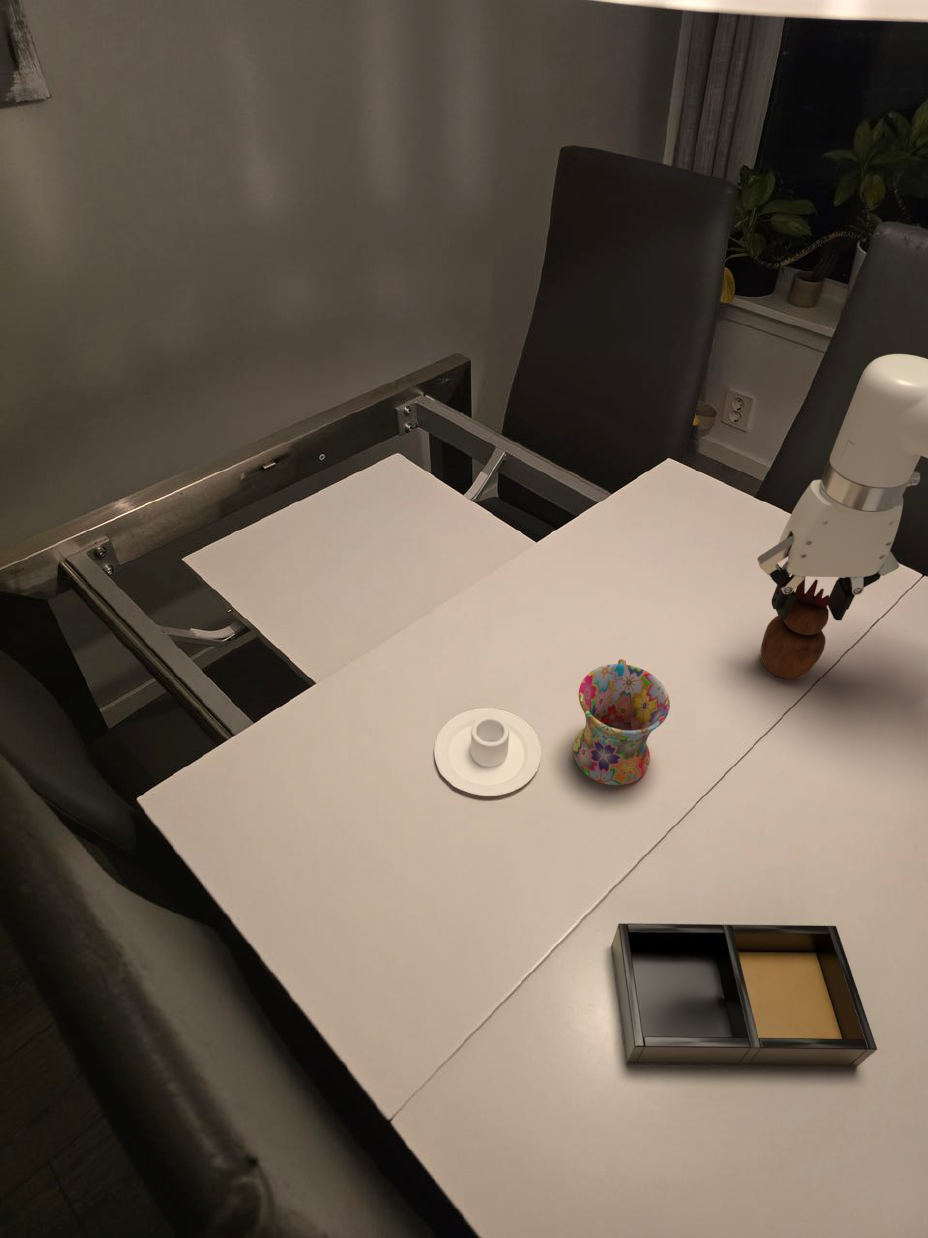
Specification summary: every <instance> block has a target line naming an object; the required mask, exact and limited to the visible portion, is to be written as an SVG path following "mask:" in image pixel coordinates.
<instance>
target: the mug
mask: <svg viewBox="0 0 928 1238" xmlns="http://www.w3.org/2000/svg"><path fill="white" fill-rule="evenodd" d="M578 701H579V704H580V707H581V709H582V711H583V713H584V717H585V725H584V728H582V729H581V730H580V731H579V732H578V734H577V735H576V737H575V739H574V742H573V746H572V751H573V757H574V760H575V762H576V764H577V766H578V767H579V769H580V770H581V771H582V772H583V773H584V774H585V775H586V776H587V777H589V778H591V779H592V780H595V781H596V782H598V783H601V784H605V785H608V786H624V785H628V784H631V783H634V782H636V781H637V780H639V779H640V778H641V777H642V776H644V774H645V773H646V772H647V770H648V768H649V765H650V761H651V754H650V749H649V746H648V744H647V743H648V738H649V737H650V735H651V734H652V732H653V731H654V730H656V729H657V728H659V727H660V726H661V725H662V724H663V723H664V722H665V721H666V719H667V717H668V714H669V712H670V707H671V706H670V705H671V704H670V703H671V701H670V697H669V693H668V690H666V688H665V686H664V684H663V683H662V682H661V680H659V679H658V678H657V677H656V676H654V675H653V674H651V673H650V672H649V671H647V670H645V669H642V668H640V667H637V666H634V665H630V664H627V661H626V659H622V658H621V659H619V660H618V661H617V663H612V664H606V665H601V666H599V667H597V668H595V669H593V670H591V671H590V672H589V673H587V675H586V676H585V677H584V678H583V679H582V681H581V682H580V685H579V688H578Z"/></svg>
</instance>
